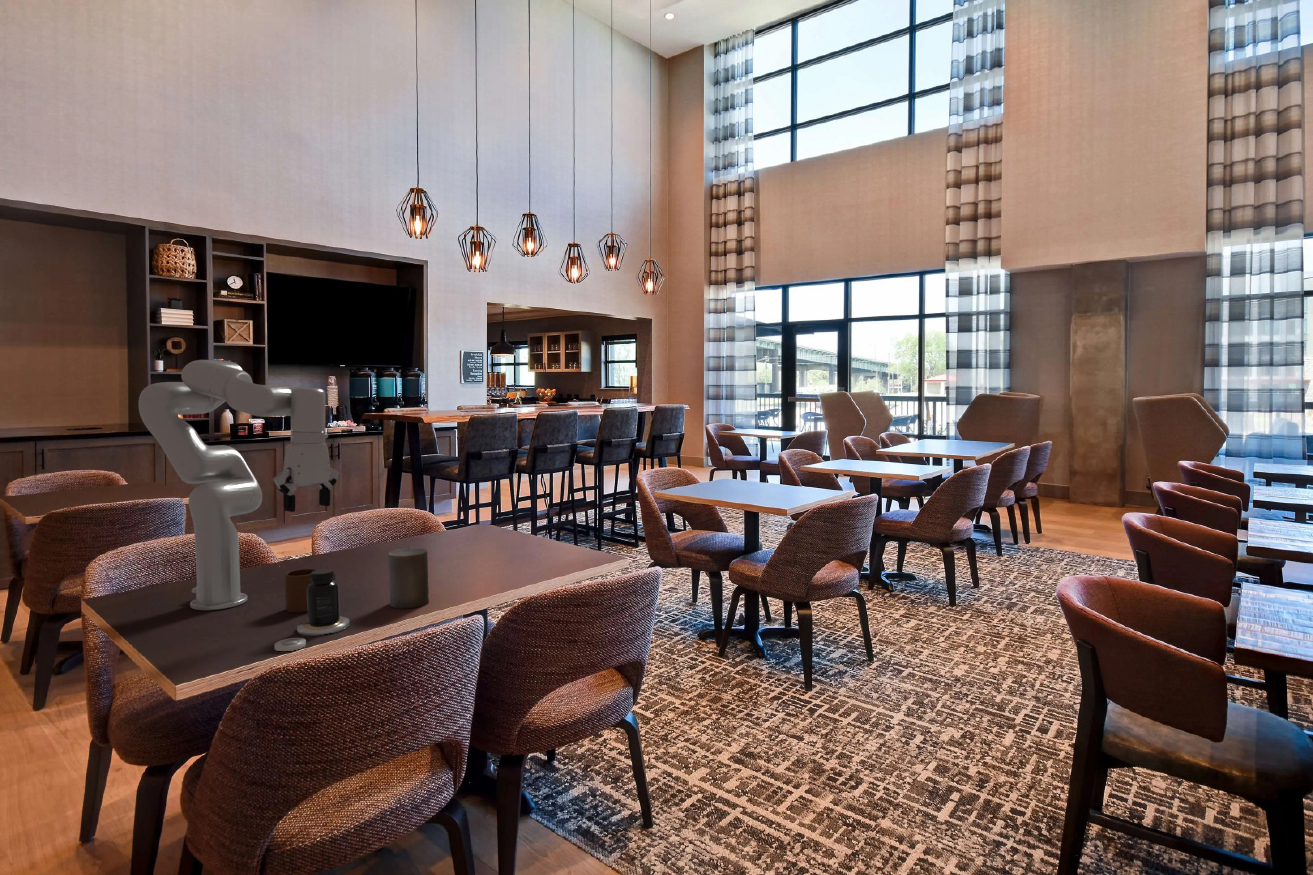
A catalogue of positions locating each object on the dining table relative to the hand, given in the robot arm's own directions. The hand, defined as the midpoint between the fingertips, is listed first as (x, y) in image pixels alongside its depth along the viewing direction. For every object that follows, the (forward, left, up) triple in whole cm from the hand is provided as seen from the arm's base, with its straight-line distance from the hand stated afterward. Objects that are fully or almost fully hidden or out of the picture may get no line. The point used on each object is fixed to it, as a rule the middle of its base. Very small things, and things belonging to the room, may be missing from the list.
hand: (307, 508), depth 174 cm
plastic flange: (+15, -18, -26) cm, 35 cm away
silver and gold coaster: (+11, -6, -26) cm, 29 cm away
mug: (-5, +4, -27) cm, 27 cm away
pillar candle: (+15, +17, -27) cm, 35 cm away
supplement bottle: (+11, -6, -25) cm, 28 cm away
